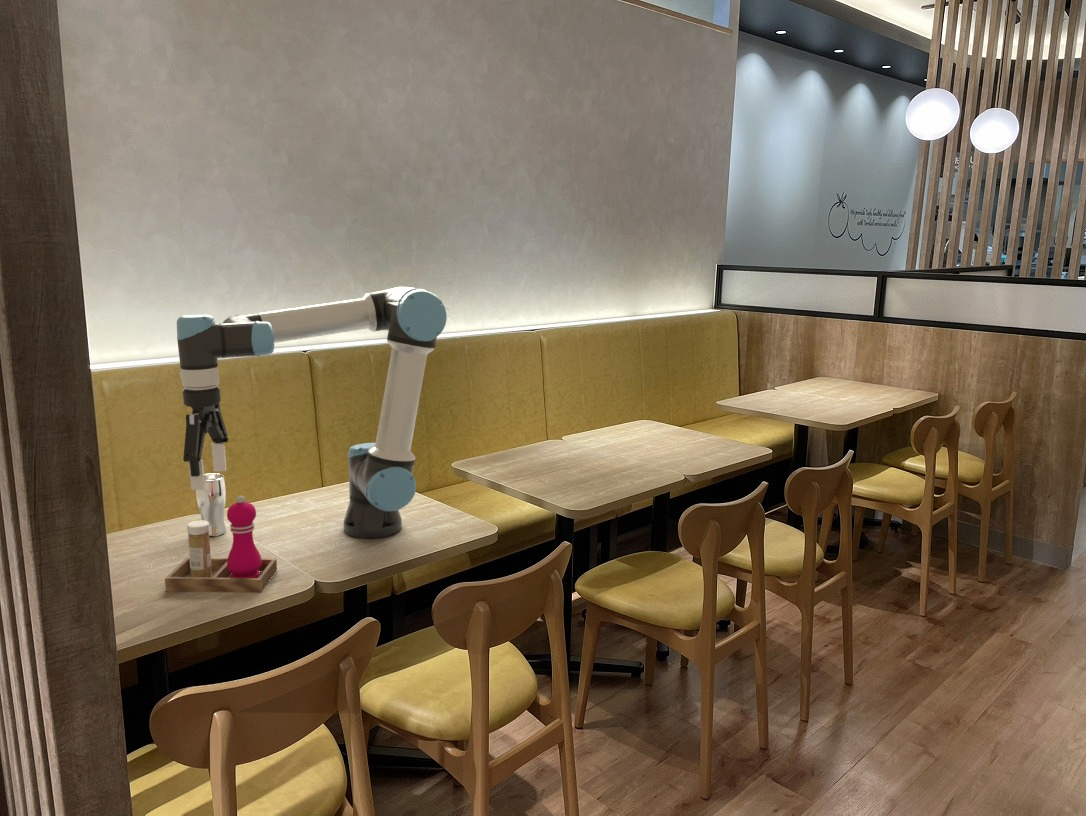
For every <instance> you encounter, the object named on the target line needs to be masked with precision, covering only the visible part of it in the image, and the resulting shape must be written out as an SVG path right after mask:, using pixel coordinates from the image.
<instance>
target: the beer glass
mask: <svg viewBox="0 0 1086 816" xmlns="http://www.w3.org/2000/svg"><path fill="white" fill-rule="evenodd" d="M204 478H205V488H206V489H205V490H195V494H196V497H195V498H196V502H197V507H198V511H199V513H200V518H201V519H200V520H203V521H207V522H209V526H210V530H209V536H216V537H218V536H217V535H220V534H223V533H225V532H226V533H227V528H226V524H225V519H224V518H225V517H224V516H225V507H226V497H227V494H226V493H227V492H226V490H227V489H226V484H225V483H226V482H225V475H224V474H221V473H216V472H215V473H204ZM226 533H225V534H226ZM223 535H224V534H223ZM220 536H221V535H220Z"/></svg>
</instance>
